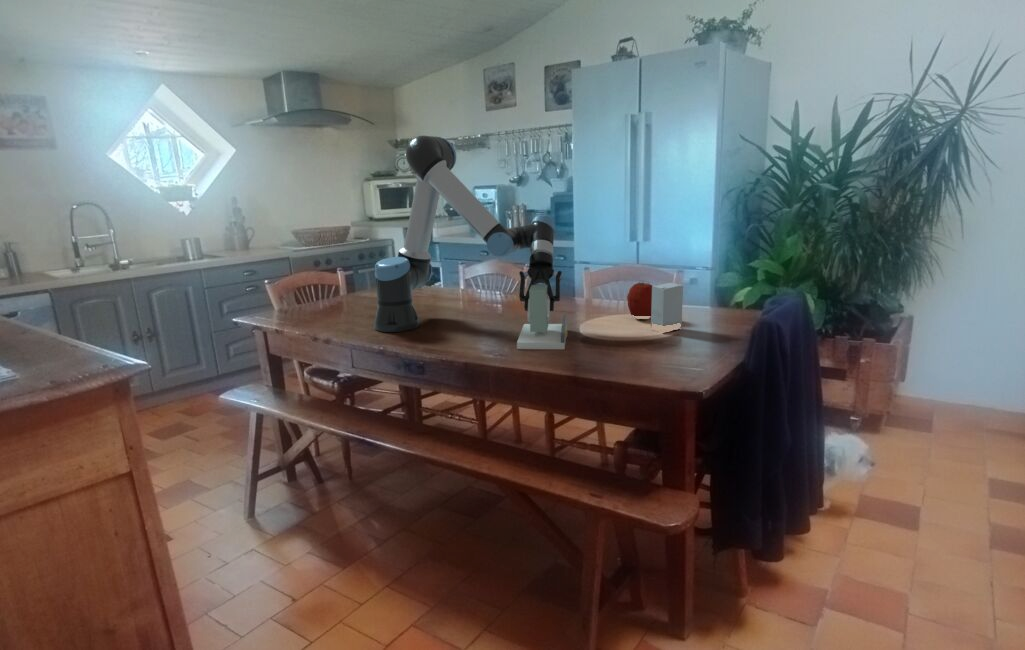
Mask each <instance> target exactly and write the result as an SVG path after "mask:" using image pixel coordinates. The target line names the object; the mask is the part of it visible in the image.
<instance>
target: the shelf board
mask: <svg viewBox="0 0 1025 650" xmlns="http://www.w3.org/2000/svg"><path fill="white" fill-rule="evenodd" d="M567 318H568V317H567V314H563V316H562V321H561V322H562V323H548V329H547V332H530V323H524V324H523V326H522V329H521V330H520V334H519V336H518V339H517V341H516V350H565V347H566V339H567V337H568V325H567V320H568V319H567Z"/></svg>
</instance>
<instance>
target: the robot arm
mask: <svg viewBox="0 0 1025 650" xmlns="http://www.w3.org/2000/svg"><path fill="white" fill-rule="evenodd" d="M405 159H406V161H407V163H408V167H410V168H411V170H412V172H413V175H414V177H415V178H416V183H415V188H414V195H413V199H412V204H411V209H410V212H409V213H410V214H409V219H408V223H407V230H406V235H405V240H404V245H403V246H401V247H400V248H399V249H398V252H397V256H393V257H392V256H391V257H388V258H383V259H380V260H379V261H377V262H376V263H375V265H374V277H375V288H376V298H377V310H376V313H375V319H374V329H375V330H376V331H378V332H382V333H383V332H384V333H401V332H407V331H411V330H413V329H416V328H418V327H419V326H420V321H419V320H420V319H419V316H418V314H417V312H416V309H415V307H414V305H413V294H412V291H414V290H417V289H421V288H422V287H424V286H425V285H426V284H427V283H428V282H429V281H430V280H431V278H432V276H433V275H432V274H433V267H432V264H431V259H432V255H431V254H430V252H429V247H430V243H431V238H432V234H433V229H434V224H435V220H436V219H435V218H436V214H437V210H438V204H439V200H440V196H441V197H442V198H443V199H444V200H445V201H446V202H447V203H448V204H449V205H450V206H451V208H453V209H454V211H455V212H457V214H458V215H459V216H460V217H461V218H462V219H463V220H464V221H465V222H466V223H467V224H468V226H470V228H472V230H473V231H475V234H477V235H478V236H479V237H480V238H481V239H482V240H483V241H484V242H485V244H486V247H487V250H488V252H489V253H490V254H491V255H493V256H494V257H497V258H498V257H499V258H500V257H501V258H503V257H505V256H508V255H510V254H511V253H514V252H516V251H518V250H523V249H529V265H528V269H527V271H522V270H521V271H520V270H519V279H520V282H519V293H518V294H519V295H518V298H519V301H520V302H524V306H523V307H524V311H525V312H527V316H526V318H527V322H529V323H530V300H529V289H530V287H531V285H538V284H541V283H542V284H544V285H548V286H547V290H548V299H547V322H548V323H549V322H550V321H551V320H550V319H551V316H550V315H551V312H553V311H554V310H555V309H554V308H555V302H560V301H561V280H562V278H563V274H562V271H561V270H558V271H555V269H554V268H553V267H554V266H553V264H554V263H553V262H554V237H555V236H554V235H555V227H554V225H555V223H554V220H553V219H552V218H551V217H550V216H548V215H544V214H540V215H536V216H535V217H533V218H532V221H531V223H530V224H526V225H523V226H514V227H510V228H505V227H504V226H503V224H501V222H500V221H499V220H498V219H497V218H496V217H495V216H494V215H493V214H492V213H491V212H490V211H489V209H488V208H486V206H485V205H484V204H483V203H482V202H481V201H480V200H479V199H478V198H477V197H476V196H475V195H474V194H473V193H472V192H471V191H470V190H469V189H468V187H466V186H465V184H463V182H462V181H461V180H460V179H459V178H458V177H457V176H456V174H454V173H453V172H452V171H451V170H452V169H453V168H454V167H455V164H456V163H457V151H456V149H455V147H454V145H453V143H451V142H450V141H449V140H447V139H446V138H444V137H440V136H432V135H429V136H428V135H418V136H415V137H414V138H413V139H411V140H410V141H409V143H408V145H407V146H406V150H405ZM528 277H529V279H530V282H529V284H528V287H527V290H526V289H525V288H526V280H527V279H528ZM553 277H554V279H555V295H554V293H553V290H552V287H551V283H550V279H551V278H553ZM525 290H526V293H525Z"/></svg>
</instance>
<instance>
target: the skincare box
mask: <svg viewBox="0 0 1025 650" xmlns="http://www.w3.org/2000/svg"><path fill="white" fill-rule="evenodd" d="M683 295H684V285H682V284H679V283H674V282H667V283H662V284H658V285H657V284H655V285H653V286H652V308H651V317H650V324H651V323H653V324H657V325H662V326H666V325H673V324H677V323H680V324H681V325H682V322H683V318H682V317H683V299H684V298H683V297H684V296H683Z"/></svg>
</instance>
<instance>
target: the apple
mask: <svg viewBox="0 0 1025 650" xmlns="http://www.w3.org/2000/svg"><path fill="white" fill-rule="evenodd" d="M652 286H654V285H653V284H650V283H645V282H636V283H634V284H633V285H632V286H631V287H630V288H629V291H628V293H627V296H626V297H627V298H626V300H627V307H628V310H629V313H630V315H631V316H632V315H634V316H651V308H652Z"/></svg>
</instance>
